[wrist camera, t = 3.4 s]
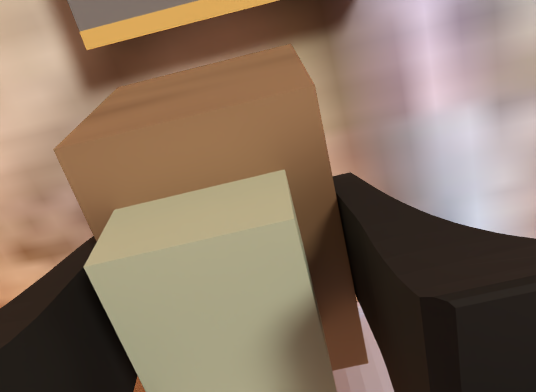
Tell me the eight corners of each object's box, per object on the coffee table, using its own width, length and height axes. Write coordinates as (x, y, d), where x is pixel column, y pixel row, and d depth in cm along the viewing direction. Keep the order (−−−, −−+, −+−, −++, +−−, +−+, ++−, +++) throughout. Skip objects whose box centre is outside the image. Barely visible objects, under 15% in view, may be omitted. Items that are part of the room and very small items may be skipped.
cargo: (321, 323, 11) (337, 393, 9) (177, 354, 11) (164, 429, 9) (284, 169, 9) (294, 218, 7) (114, 210, 9) (83, 267, 8)
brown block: (334, 252, 16) (368, 363, 12) (192, 283, 16) (172, 403, 12) (290, 43, 13) (314, 85, 9) (118, 87, 13) (53, 149, 9)
